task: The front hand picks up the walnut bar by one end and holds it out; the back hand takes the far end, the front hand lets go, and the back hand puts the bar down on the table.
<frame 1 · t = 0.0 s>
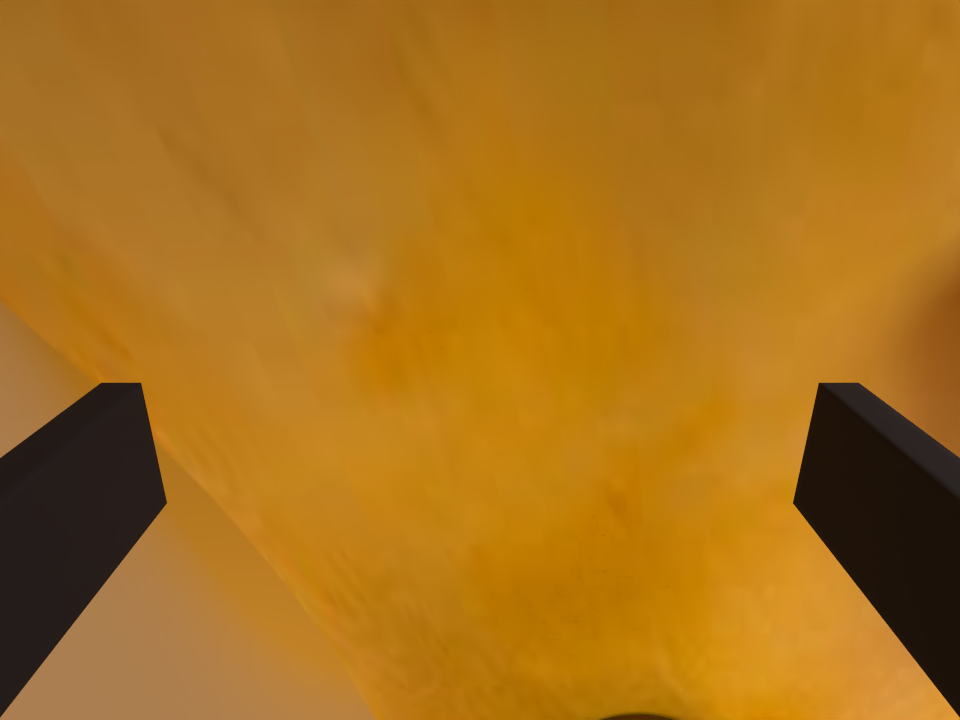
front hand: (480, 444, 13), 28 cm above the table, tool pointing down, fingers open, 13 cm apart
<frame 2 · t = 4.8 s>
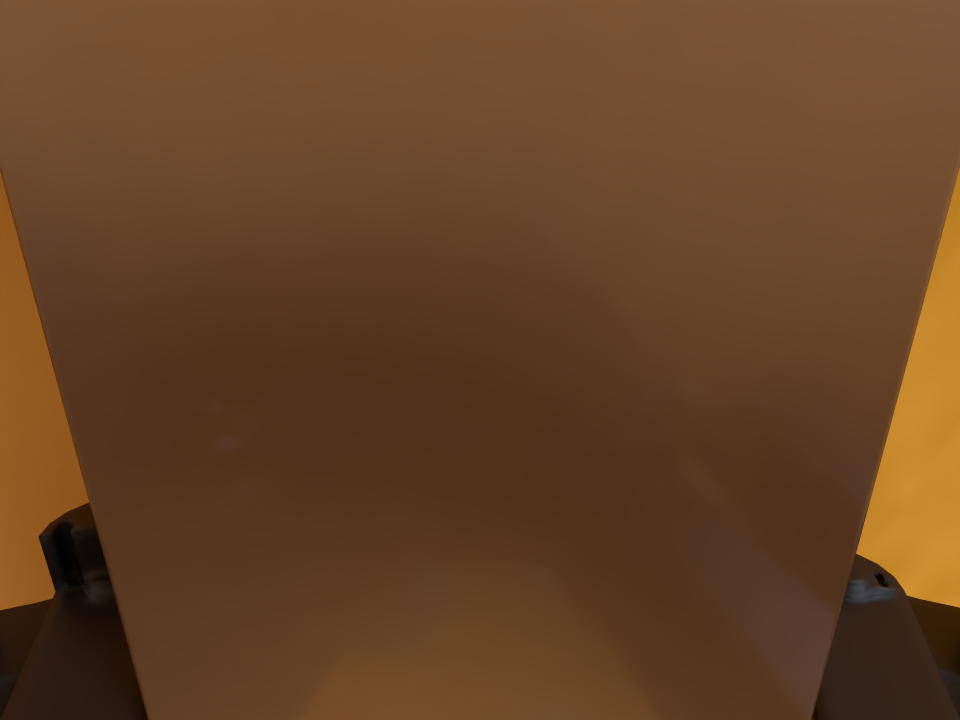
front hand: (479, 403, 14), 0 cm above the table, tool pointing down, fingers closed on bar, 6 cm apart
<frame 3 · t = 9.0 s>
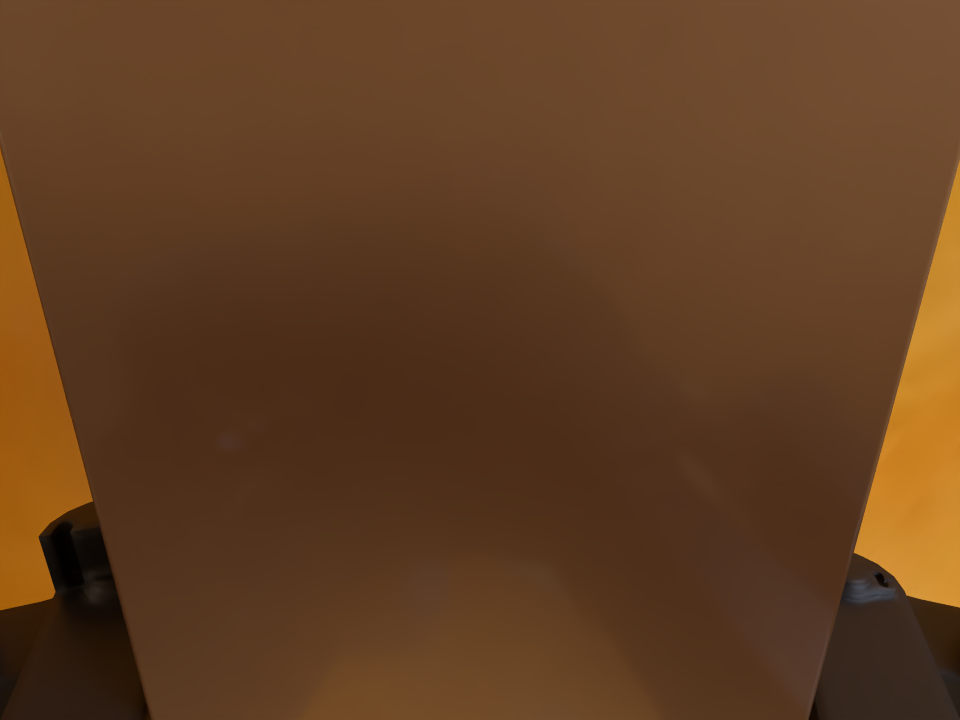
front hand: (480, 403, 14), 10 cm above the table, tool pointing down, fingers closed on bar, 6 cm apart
when the front hand's fingers open (10 cm above the table, at t = 9.9 s): bar stays where it is, held by the back hand.
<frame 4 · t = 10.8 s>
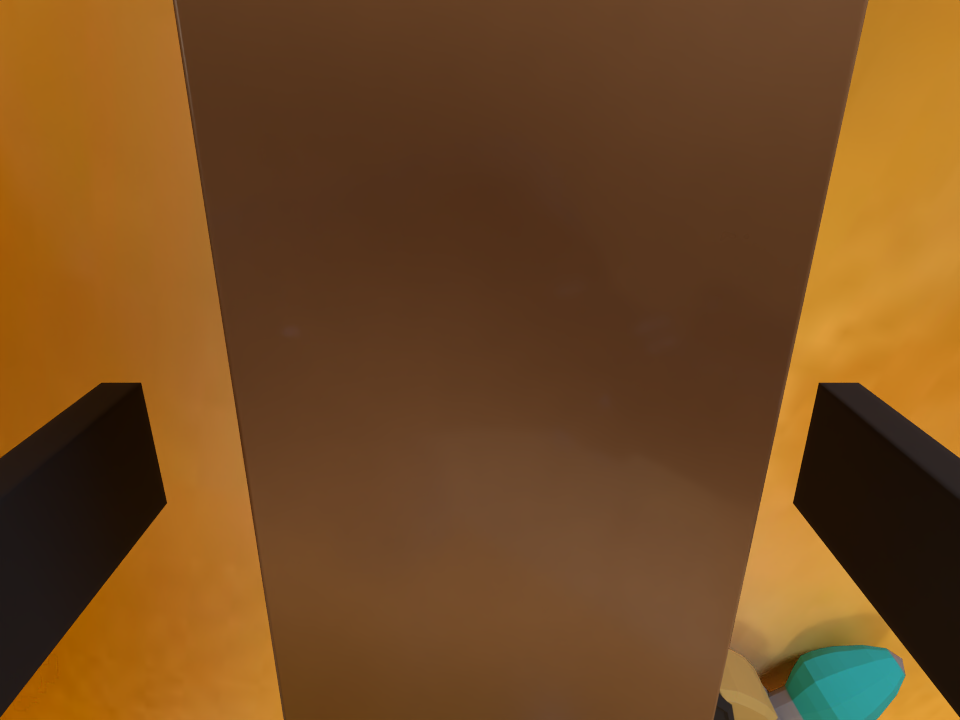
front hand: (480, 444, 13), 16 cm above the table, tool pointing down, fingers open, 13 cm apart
toy gun 2: (620, 702, 37), on the table
when the back hand's fingers open (6 cm above the table, at t = 18.6 s): bar stays where it is, on the table.
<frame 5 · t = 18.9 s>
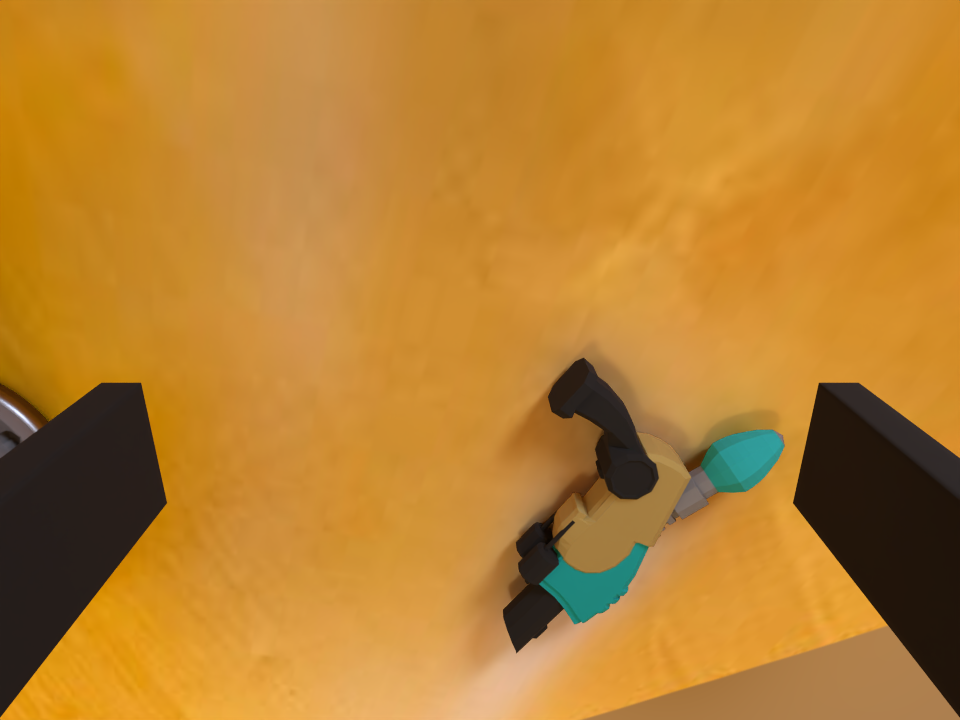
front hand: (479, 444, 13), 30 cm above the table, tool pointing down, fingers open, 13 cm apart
toy gun 2: (579, 492, 48), on the table
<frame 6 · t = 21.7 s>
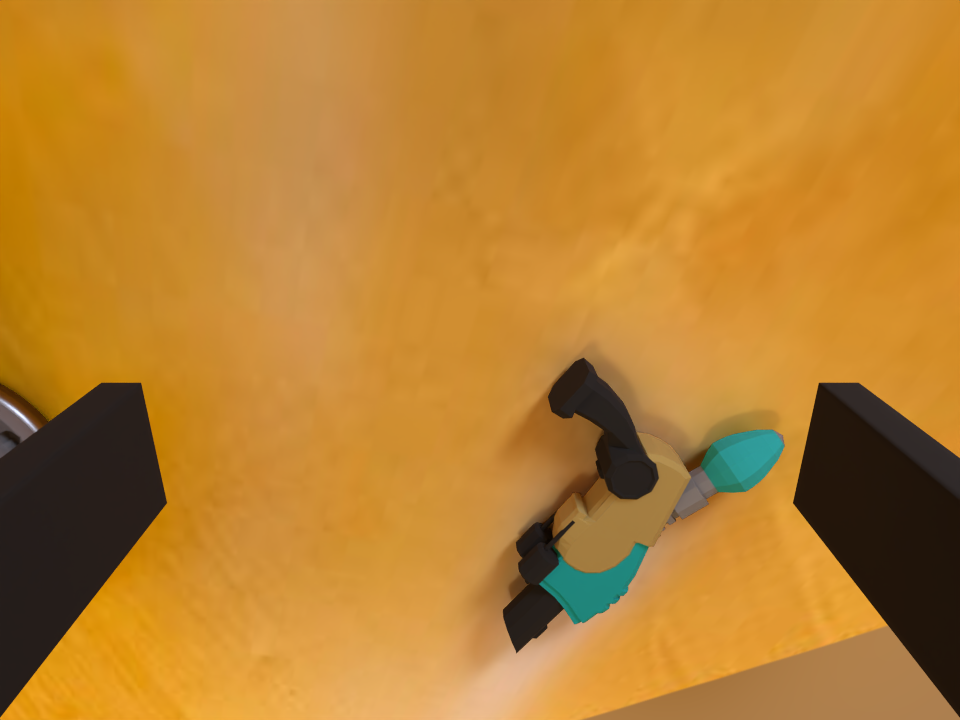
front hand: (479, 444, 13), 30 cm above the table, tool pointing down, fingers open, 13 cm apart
toy gun 2: (579, 492, 48), on the table
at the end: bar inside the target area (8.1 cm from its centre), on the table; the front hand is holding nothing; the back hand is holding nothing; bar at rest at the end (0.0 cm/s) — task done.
